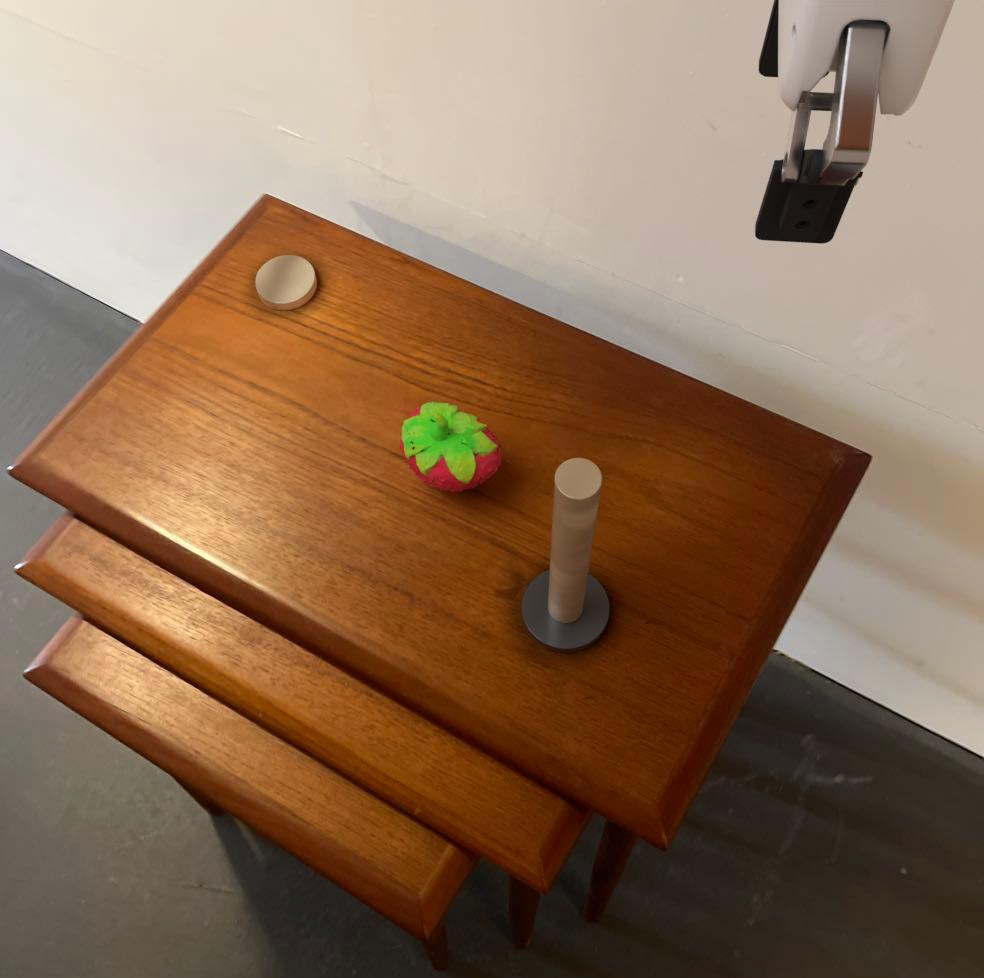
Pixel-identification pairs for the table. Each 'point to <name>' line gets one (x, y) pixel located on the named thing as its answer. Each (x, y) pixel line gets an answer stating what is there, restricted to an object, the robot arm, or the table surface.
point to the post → (569, 567)
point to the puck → (286, 282)
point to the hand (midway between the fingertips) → (791, 151)
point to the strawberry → (449, 447)
